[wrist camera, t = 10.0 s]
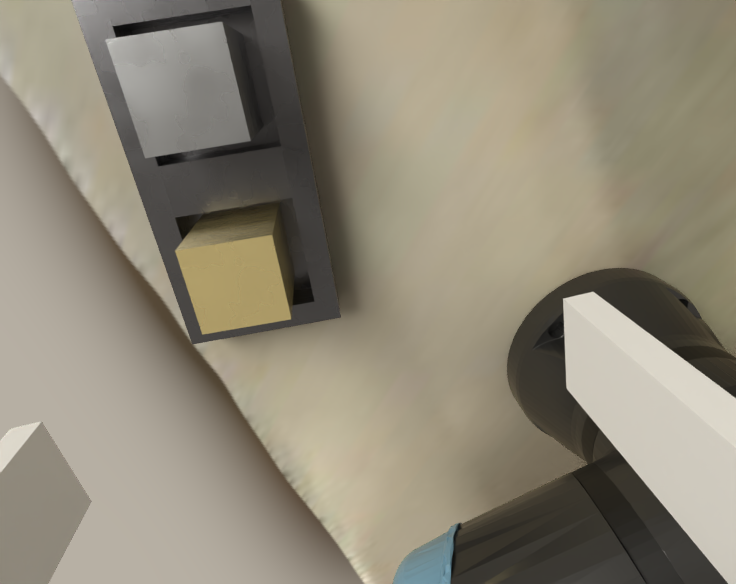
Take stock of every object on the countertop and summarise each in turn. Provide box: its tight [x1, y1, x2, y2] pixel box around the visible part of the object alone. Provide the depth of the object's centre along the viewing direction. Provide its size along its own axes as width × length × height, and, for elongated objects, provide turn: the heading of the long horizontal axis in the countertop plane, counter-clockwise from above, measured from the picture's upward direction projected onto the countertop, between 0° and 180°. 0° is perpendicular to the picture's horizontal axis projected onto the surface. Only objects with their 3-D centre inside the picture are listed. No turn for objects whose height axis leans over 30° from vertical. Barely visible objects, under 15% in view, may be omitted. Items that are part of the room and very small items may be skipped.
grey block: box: [105, 22, 263, 158], centre depth 25 cm, size 5×5×7 cm
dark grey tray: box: [71, 0, 341, 344], centre depth 29 cm, size 20×10×3 cm, turn 9°
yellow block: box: [175, 202, 295, 335], centre depth 29 cm, size 5×5×7 cm
